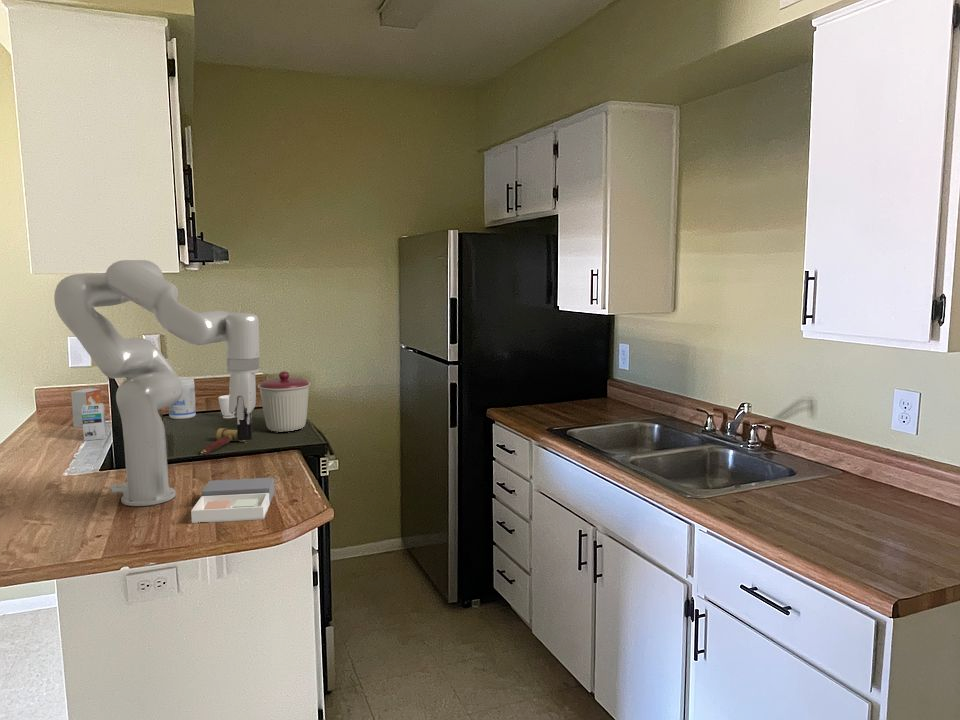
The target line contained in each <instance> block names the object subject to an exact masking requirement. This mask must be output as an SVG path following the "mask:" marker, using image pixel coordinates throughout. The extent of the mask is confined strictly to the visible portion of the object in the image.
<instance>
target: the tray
mask: <svg viewBox="0 0 960 720" xmlns="http://www.w3.org/2000/svg"><path fill="white" fill-rule="evenodd" d="M242 499H258V507H239V508H232V506H233V505H234V503H235V502H236V500H242ZM216 501H230V508H220V509H204V508H205V506H206V504H207V503H208V502H216ZM195 503H196V504H195V505H194V506H193V508H192V509H191V511H190V512H191V513H190V515H191V524H201V523H200V522H209V523H222V522H223V523H224V522H242V521H244V522H245V521H258V520H265V517H266V515H267V513H268V511H269V507H270V505H271V503H270V500H269V493H257V494H238V495H218V496H202V495H201V496H200V498H199V499H198V501H197V502H195ZM198 522H199V523H198Z"/></svg>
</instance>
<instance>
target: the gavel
mask: <svg viewBox="0 0 960 720" xmlns="http://www.w3.org/2000/svg"><path fill="white" fill-rule="evenodd" d="M215 438H216V440H215V441H213V442H212V443H210V444H208V445H206V446H204V447H203V448H202V450H201V451H200V453H203V452H208V451H212V450H214V449H216V448H218V447H220V448H222V447H224V446H226V445H228V444H229V443H230V441H245V440H238V435H237V429H227V428H226V427H225V428H222V427H220V428H218V429H217V431H216V434H215ZM225 444H226V445H225ZM223 445H224V446H223ZM221 446H222V447H221Z"/></svg>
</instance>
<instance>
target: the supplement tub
mask: <svg viewBox="0 0 960 720" xmlns="http://www.w3.org/2000/svg"><path fill="white" fill-rule="evenodd" d="M179 379H180V381H181V384H182V395H181V398H180V399H179V400H178V401H177V402H176V403H175V404H173V405H170V406H168V416H169V418H170V419H175V420H182V419H183V420H184V419H185V420H186V419H191V418H194V417H195V416H196V415H197V413H196V412H197V411H196V390H195V389H196V387H195V379H194V378H192V377H179Z"/></svg>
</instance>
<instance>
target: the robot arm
mask: <svg viewBox="0 0 960 720" xmlns="http://www.w3.org/2000/svg"><path fill="white" fill-rule="evenodd" d="M178 295H179V290H178V288H177V286H176V285H175V284H174V283H172V282H171V281H168V280H166V279H165V278H164V274H163V271H162V269H161V268H160V267H159V266H158V265H157V264H156V263H154V262H153V261H151V260H150V261H149V260H146V259H123V260H118V261H116V262H113V263H112V264H111V265H110V266H108V267H107V269H106V271H105V272H97V273H95V272H91V273H90V272H86V273H76V274H70V275H68V276H65V277H64V278H63V279H61V280H60V281H59V282H58V283H57V285H56V288H55V290H54V300H53V301H54V307H55V310H56V313H57V315H58V316H59V318H60V319H61V321H62V323H63V324H64V325H65V326H66V327H67V328H68V330H69V331H71V333H72V334H73V335H74V337H76V339H77V341H78V342H80V344H81V346H82V347H83V349H84V350H85V351H86V352H87V354H88V356H90V359H92V361H93V362H94V363H95V365H96V366H97V368H98V369H99V370H100V371H101V373H102V374H103V375H104V376H106V377H107V378H110V379H123V378H127V377H128V378H127V379H126V380H124V381H123V382H121V384H120V385H119V386H118V387H117V390H116V393H115V401H116V406H117V409H118V412H119V415H120V419H121V424H122V425H121V426H122V436H123V447H124V459H125V460H124V461H125V472H126V473H125V474H126V481H125V482H123V483H111V484H110V486H109V491H110V492H111V494H112V495H113V494H122V496H121V498H120V499H121V500H120V501H121V503H122V504H123V505H125V506H128V507H129V506H130V507H147V506H154V505H155V506H156V505H158V504H162V503H165V502H169V501H171V500H172V499H174V498H175V497H176V496H177V492H176V489H175V488H173V487H170V485H169V471H168V470H169V469H168V456H167V455H168V454H167V442H166V429H165V425H164V422H163V420H162V417H161V415H160V414H159V411H158V410H161V409H164V408H167V407H169V406H170V405H173V404H175V403H176V402H177V401H178V400H179V399H180V398H181V395H182V384H181V381H180V379H179V378H180V377H179V376H178V374H177V373H176V371H175V370H174V368H173V367H172V366H171V364H170V363H169V361H168V360H167V359H166V358H165V356H164V355H163V354H162V352H161V351H160V349H159V348H158V347H157V345H155V344H154V343H152V342H151V341H150V340H148V339H147V338H144V337H130V338H125V337H123V336H122V335H121V334H120V332H119V331H118V330H117V329H116V327H115V326H114V324H113V323H112V321H110V320H109V318H106V316H104V315H103V314H101V313H100V312H99V311H97V310H96V309H95V308H99V307H101V308H103V307H111V306H117V305H121V304H124V303H127V302H130V301H131V302H132V303H134V304H136V305H138V306H139V307H141V308H143V309H144V310H147V311H148V312H150V313H151V314H154V316H155V320H156V321H157V322H158V323H159V324H160V326H161V327H162V328H163V329H165V331H167V332H168V333H170V334H172V335H173V336H175V337H177V338H179V339H180V340H182V341H184V342H186V343H189V344H191V345H195V346H205V345H209V344H215V343H221V342H225V348H226V349H225V350H226V351H225V352H226V354H225V355H226V372H227V373H230V374H229V389H228V391H229V393H228V395H229V412H230V413H231V414H233V413H234V412H235V413H236V416H237V417H236V418H237V419H236V421H237V424H236V427H237V428H236V430H237V435H238V440H249V441H251V440H252V439H253V420H252V419H253V418H252V415H253V414H252V412H253V410H254V409H255V406H256V404H257V403H256V402H257V390H256V389H257V388H256V387H257V385H256V384H257V382H256V373H258V372H260V371H261V370H260V369H261V367H260V365H261V364H260V361H261V360H260V326H259V323H260V321H259V318H258V316H257V314H254V313H251V312H235V313H234V312H230V311H225V310H211V311H209V310H208V311H202V312H197V311H194V310H193V309H191V308H189V307H188V306H186V305H184V304H182V303H180V302H179V301H177V299H178V297H179V296H178ZM129 377H130V378H129Z"/></svg>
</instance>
